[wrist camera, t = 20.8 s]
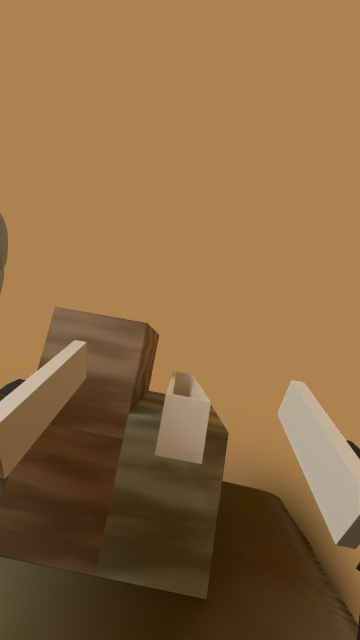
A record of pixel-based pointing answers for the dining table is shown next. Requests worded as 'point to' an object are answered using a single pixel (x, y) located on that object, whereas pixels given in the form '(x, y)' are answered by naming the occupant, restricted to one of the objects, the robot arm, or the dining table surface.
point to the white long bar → (183, 420)
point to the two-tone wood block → (114, 472)
